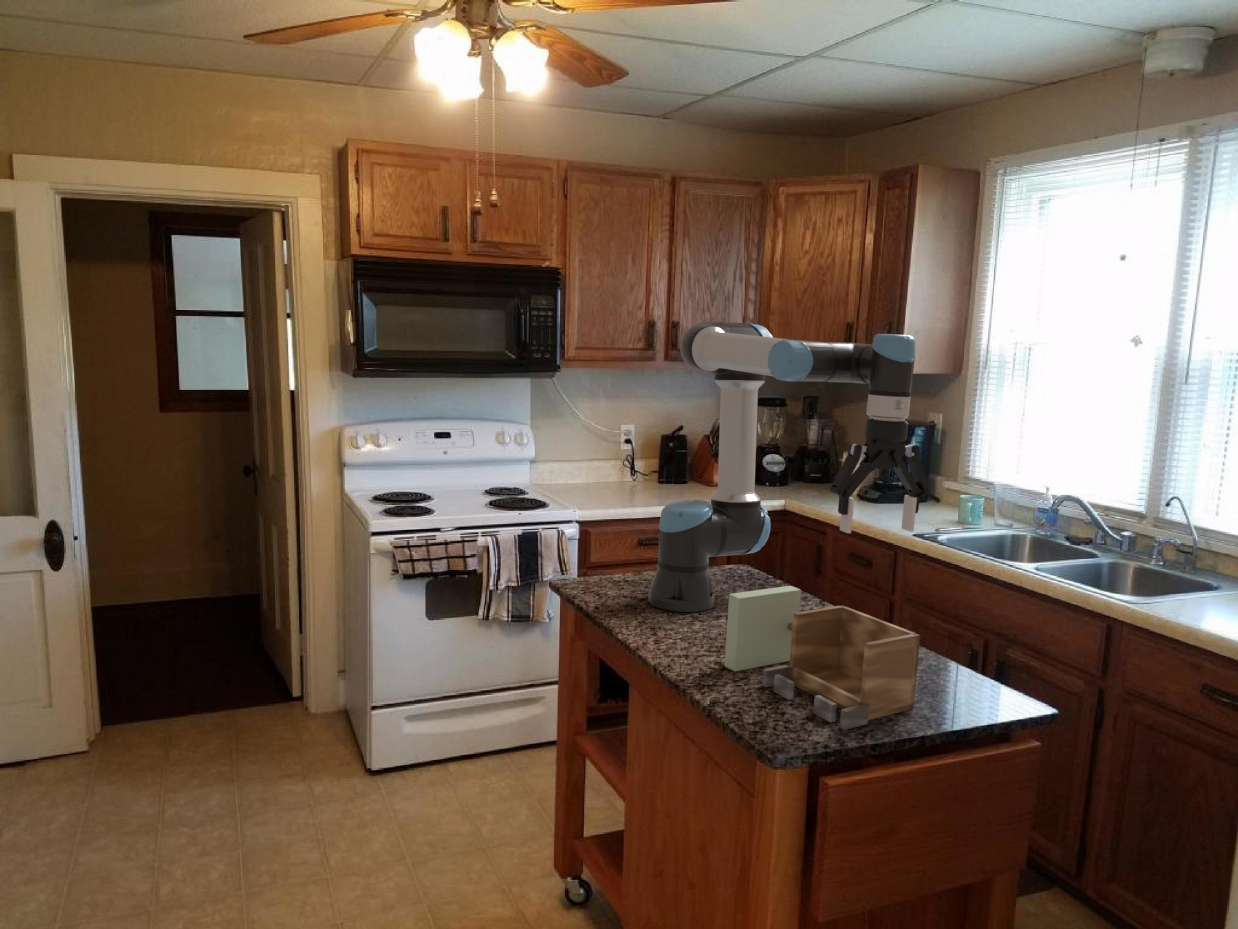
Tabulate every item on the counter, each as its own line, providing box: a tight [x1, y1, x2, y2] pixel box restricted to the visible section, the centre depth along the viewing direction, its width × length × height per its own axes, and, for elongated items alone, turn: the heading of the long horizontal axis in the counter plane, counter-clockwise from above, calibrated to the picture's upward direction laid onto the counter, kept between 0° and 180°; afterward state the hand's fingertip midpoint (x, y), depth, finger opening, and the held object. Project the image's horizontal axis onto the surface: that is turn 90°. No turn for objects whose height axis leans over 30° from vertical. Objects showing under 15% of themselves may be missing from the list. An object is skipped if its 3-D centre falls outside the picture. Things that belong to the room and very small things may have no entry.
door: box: [724, 585, 802, 672], centre depth 168 cm, size 15×4×14 cm, turn 121°
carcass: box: [761, 604, 921, 731], centre depth 153 cm, size 20×17×13 cm
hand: (876, 531), depth 167 cm, fingers open, 13 cm apart
